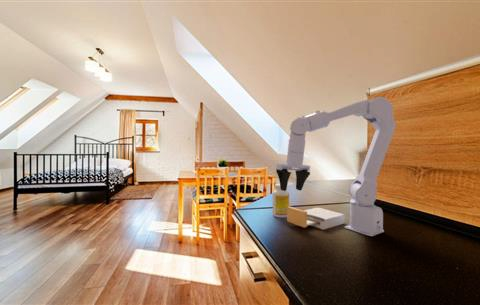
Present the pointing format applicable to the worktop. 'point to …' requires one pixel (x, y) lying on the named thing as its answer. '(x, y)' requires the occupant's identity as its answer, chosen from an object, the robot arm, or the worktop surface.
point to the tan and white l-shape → (299, 217)
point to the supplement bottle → (280, 202)
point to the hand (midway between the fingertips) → (291, 190)
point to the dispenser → (325, 217)
